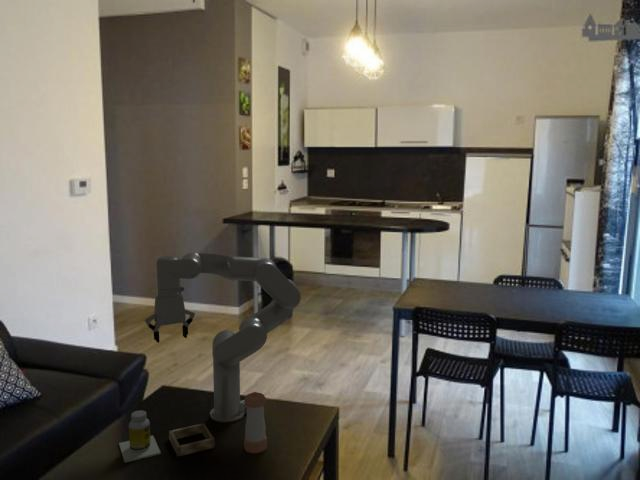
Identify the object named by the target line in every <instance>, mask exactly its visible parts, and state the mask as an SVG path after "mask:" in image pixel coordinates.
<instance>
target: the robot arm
mask: <svg viewBox="0 0 640 480" xmlns="http://www.w3.org/2000/svg"><path fill="white" fill-rule="evenodd" d="M200 274H209V275H210V274H211V275H217V276H219V277H221V278H224V279H226V280H229V281H241V282H242V281H244V282H257V284H258V285H259V286H260V288H261V289H263V290H264V291H265V292H266V293H267V294H268V295H269V296H270V297H271V299H272V300H271V302H270V303H269V304H268V305H266V306H264V307H263V308H261V309H260V310H259V311H257V312H255V313H253V314H252V315H250V316H248V317H247V318H244V319H243V320H242V321H241V323H240V324H239V326H238V327H239V328H238V331H237V332H233V331H231V330H228V329H225V330H221V331H219V332H218V333H217V334H216V335H215V336H214V338H213V340H212V368H213V369H212V371H213V379H212V380H213V408H212V409H210V412H209V417H210V419H212V421H214V422H219V423H230V422H231V423H233V422H236V421H239V420H241V419H242V418H243V417H244V416H245V414H246V412H245V411H246V410H245V409H246V408H247V406H246V405H245V403H244V399H243V400H241V379H240V378H241V370H240V369H241V367H240V366H241V361H244V360H245V359H247V358H249V357H250V356H253V354H255V353H257V352H258V351H259V350H261V349H262V348H263V347H264V346H265V344H266V342H267V340H268V334H269V333H270V332H273V331H274V330H275V329H277V328H278V327H279V326H281V325H282V324H283V323H285V322H286V321H287V320H288V318H289V317H290V316H291V315H292V313H293V310H294V308H296V307H298V305H299V304H300V302H301V300H302V299H301V298H302V296H301V291H300V290H299V288H298V285H297V284H296V282H294V281H293V280H291V279H288V278H287V277H286V276H285V274H283V273H282V271H281V270H280V269H279V268H278V267H277V264H276V263H275V262H274V260H272V259H270V258H267V257H253V256H252V257H251V256H233V255H225V254H217V253H208V252H206V253H205V252H189V253H186V254H185V255H183V256H182V258H179V259H178V257H176V256H162V257H161V256H160V257H158V258H157V260H156V280H157V283H156V284H157V295H156V296H155V299H154V308H153V309H154V312H153V314H151V315H150V316H148V317H147V318H145V319H144V323H146V325H147V327H148V328H149V329H150V330H152V332H153V340H154V341H155V342H156V343H160V331H159V329H160V328H161V326H163V327H164V326H169V325H176V324H181V323H182V328H181V329H182V337H183V338H185V339H188V335H189V327H190V324H192V322H193V321H194V318H195V315H196V314H195V312H193V311H190V310H188V309H186V307H185V301H184V297H183V294H182V292H184V291H185V286H183V287H182V286H181V281H180V279H185V280H192V279H196V278H198V277H199V276H200ZM186 315H188V316H189V317H188V318H187V317H186ZM153 320H154V322H155V323H154V325H153V324H152V323H151V322H152V321H153Z"/></svg>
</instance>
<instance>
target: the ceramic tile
mask: <svg viewBox="0 0 640 480" xmlns="http://www.w3.org/2000/svg"><path fill="white" fill-rule="evenodd" d="M150 443H151V444H150V447H149V448H148V449H146V450H144V451H139V452H136V451H132V450H131V449H130V441H129V440H126V441H121V442H118V445H119V450H120V452H121V455H122V458H123V462H124V463H129V462H134V461H137V460H142V458H143V459H146V458H150V457H154V456H158V455H161V450H160V448H159V446H158V444H157V443H158V442H157V441H156V439H155V437H154V435H150Z"/></svg>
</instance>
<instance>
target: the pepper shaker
mask: <svg viewBox="0 0 640 480" xmlns="http://www.w3.org/2000/svg"><path fill="white" fill-rule="evenodd" d="M243 400H244V403H245V405H246V406H247V407H246V419H245V420H246V421H245V427H244V433H245V434H244V435H245V436H244V438H243V439H244V441H243V442H244V444H243V445H244V447H243V448H244V450H245V451H246V452H247V453H249V454H250V453H251V454H258V453H263V452H264V451H266V450H267V449H268V448H267V446H268V441H267V439H268V437H267V435H266V432H267V431H266V427H267V426H266V423H265V411H264V410H265V409H264V407H265V406H264V405H266V401H267V399H266V396H265V395H264V394H263V393H261V392H257V391H253V392H251V393H248V394H247V395H245V397H244V399H243Z"/></svg>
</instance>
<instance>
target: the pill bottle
mask: <svg viewBox="0 0 640 480" xmlns="http://www.w3.org/2000/svg"><path fill="white" fill-rule="evenodd" d="M130 417H131V418H130V419H131V420H130V421H129V423H128V436H129V438H128V439H129V440H128V441H130V449H131V450H132V451H136V452H139V451H144V450H146V449H148V448H149V447H150V444H151V443H150V436H151V424H150V423H151V422H150V420H149V419H148V418H147V412H146V411H145V410H140V409H139V410H136V411H133V412H131V415H130Z"/></svg>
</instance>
